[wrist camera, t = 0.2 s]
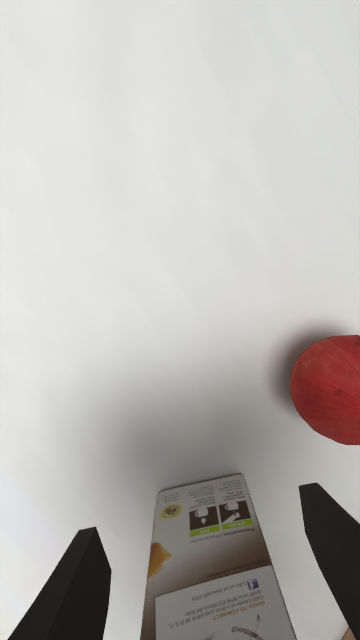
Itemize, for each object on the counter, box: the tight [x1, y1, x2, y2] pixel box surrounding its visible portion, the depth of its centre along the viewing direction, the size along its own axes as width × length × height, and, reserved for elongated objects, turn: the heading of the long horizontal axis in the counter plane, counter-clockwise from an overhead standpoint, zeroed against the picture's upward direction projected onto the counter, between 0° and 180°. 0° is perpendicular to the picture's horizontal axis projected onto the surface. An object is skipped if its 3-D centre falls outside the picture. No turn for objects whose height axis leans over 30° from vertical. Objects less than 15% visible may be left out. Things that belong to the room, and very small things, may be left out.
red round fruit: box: [290, 335, 360, 445], centre depth 17 cm, size 6×6×8 cm
